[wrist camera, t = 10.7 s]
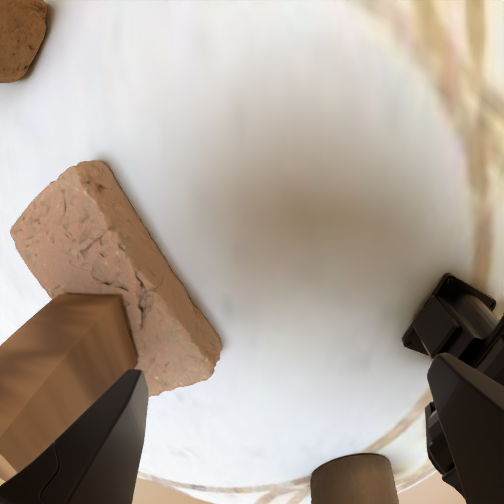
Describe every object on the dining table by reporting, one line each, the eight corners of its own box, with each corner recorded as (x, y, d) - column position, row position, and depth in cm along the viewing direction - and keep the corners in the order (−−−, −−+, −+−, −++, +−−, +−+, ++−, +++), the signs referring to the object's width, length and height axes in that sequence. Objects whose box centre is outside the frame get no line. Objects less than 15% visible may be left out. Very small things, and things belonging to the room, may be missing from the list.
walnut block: (118, 297, 18) (-6, 446, 7) (138, 362, 20) (55, 509, 8) (59, 294, 18) (-61, 407, 7) (80, 354, 20) (-8, 472, 9)
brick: (230, 343, 24) (219, 385, 19) (150, 372, 26) (131, 408, 21) (108, 151, 19) (68, 158, 15) (41, 212, 22) (2, 229, 17)
